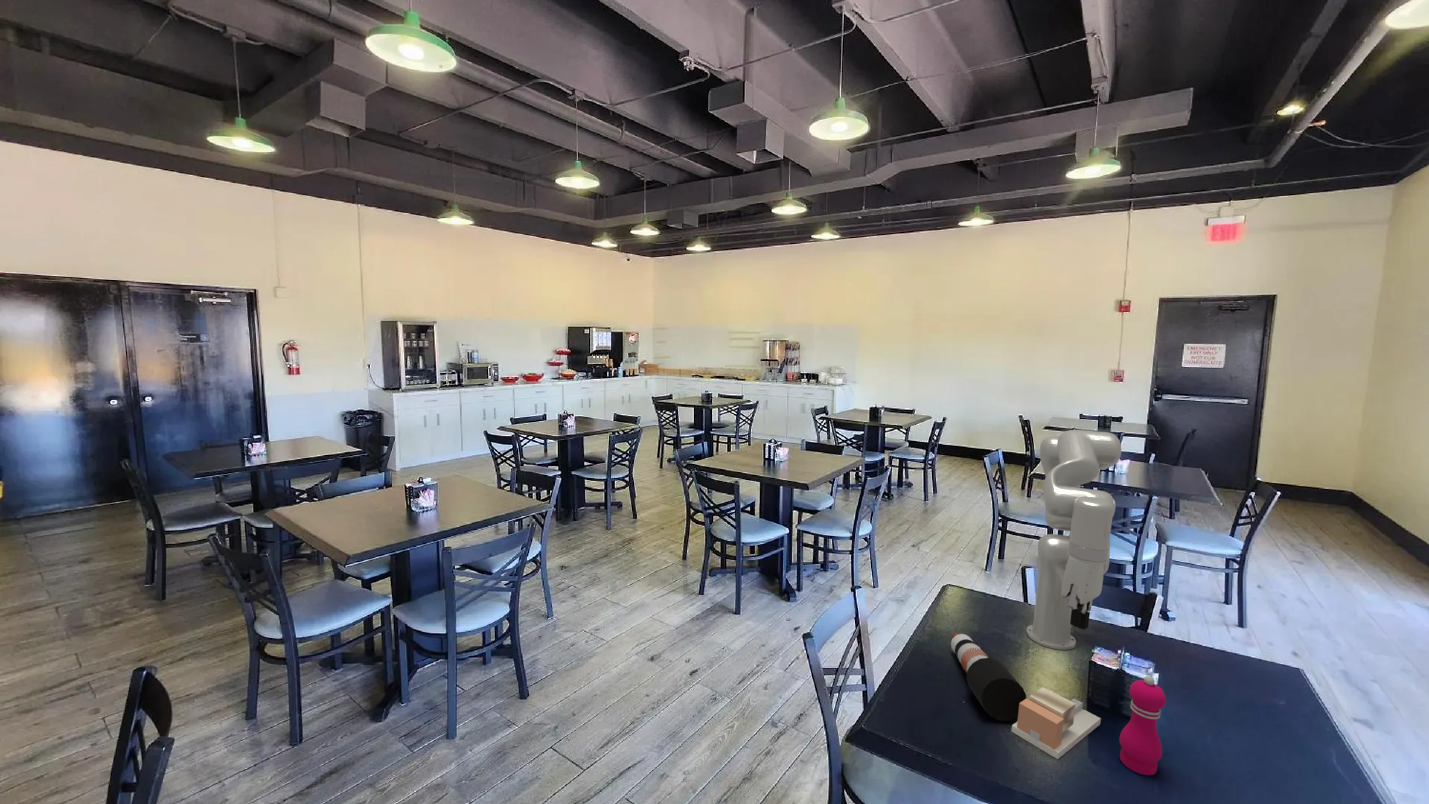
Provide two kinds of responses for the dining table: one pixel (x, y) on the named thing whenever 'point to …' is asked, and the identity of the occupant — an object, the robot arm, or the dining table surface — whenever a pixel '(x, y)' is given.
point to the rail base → (1067, 735)
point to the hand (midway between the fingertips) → (1078, 626)
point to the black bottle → (988, 680)
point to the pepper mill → (1143, 728)
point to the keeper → (1055, 705)
